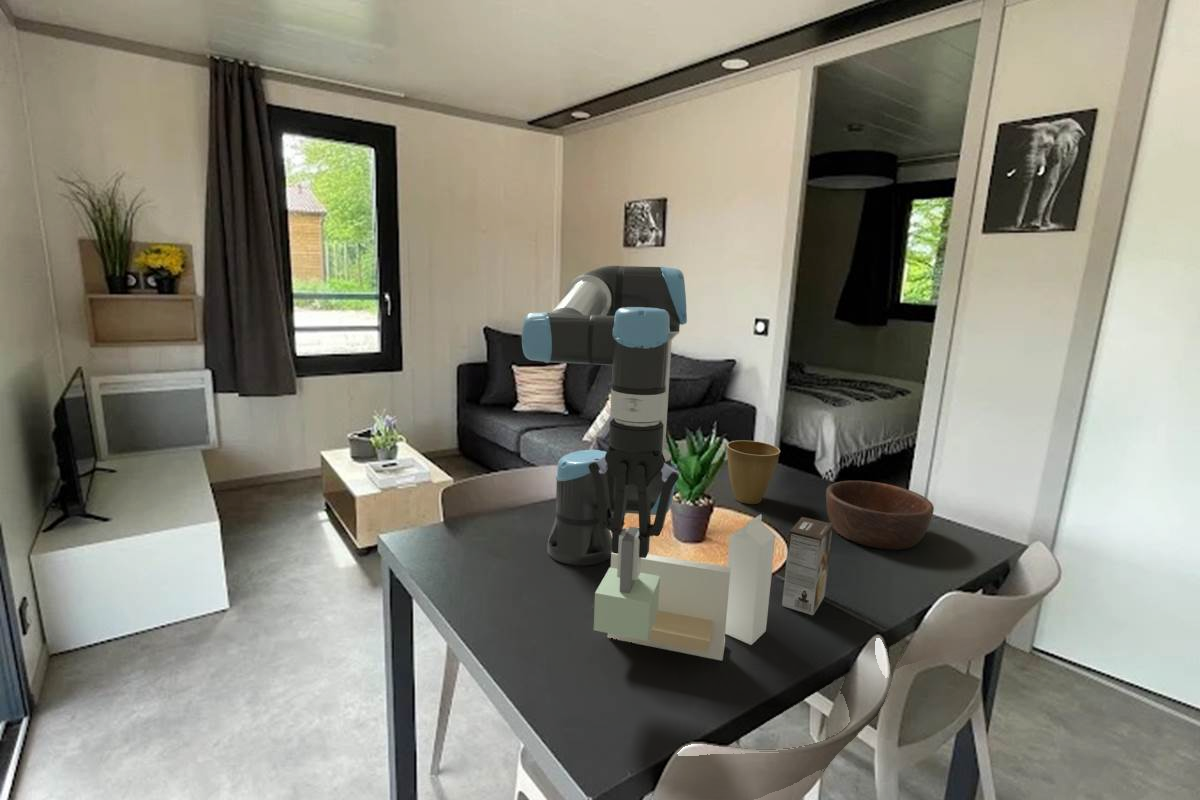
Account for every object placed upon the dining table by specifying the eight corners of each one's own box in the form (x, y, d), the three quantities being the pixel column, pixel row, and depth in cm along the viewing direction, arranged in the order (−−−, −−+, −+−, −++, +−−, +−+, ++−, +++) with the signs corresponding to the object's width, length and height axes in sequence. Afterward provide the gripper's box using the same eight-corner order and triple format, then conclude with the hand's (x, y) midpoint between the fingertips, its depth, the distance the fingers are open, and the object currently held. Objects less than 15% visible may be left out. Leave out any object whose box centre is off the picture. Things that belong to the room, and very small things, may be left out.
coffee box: (793, 587, 127) (801, 515, 124) (825, 596, 124) (834, 523, 120) (780, 606, 119) (789, 530, 116) (814, 616, 116) (823, 538, 113)
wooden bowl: (832, 549, 146) (837, 509, 144) (815, 511, 170) (819, 476, 168) (943, 561, 142) (950, 520, 140) (909, 520, 166) (915, 484, 164)
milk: (766, 631, 111) (778, 518, 106) (751, 646, 106) (763, 528, 102) (735, 618, 114) (746, 508, 110) (720, 632, 110) (731, 518, 105)
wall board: (598, 657, 101) (601, 569, 98) (613, 624, 111) (617, 542, 108) (719, 683, 96) (727, 590, 93) (724, 645, 106) (731, 560, 103)
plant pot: (727, 508, 170) (731, 453, 166) (719, 489, 184) (723, 439, 181) (780, 510, 169) (786, 455, 166) (768, 492, 184) (773, 441, 181)
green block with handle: (593, 630, 88) (596, 541, 85) (608, 602, 96) (611, 519, 93) (647, 641, 86) (652, 550, 83) (657, 611, 94) (663, 527, 91)
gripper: (578, 420, 83) (574, 578, 88) (685, 431, 79) (674, 596, 84) (594, 409, 90) (589, 555, 95) (692, 419, 86) (681, 571, 91)
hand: (629, 574), depth 89 cm, fingers closed on green block with handle, 1 cm apart
